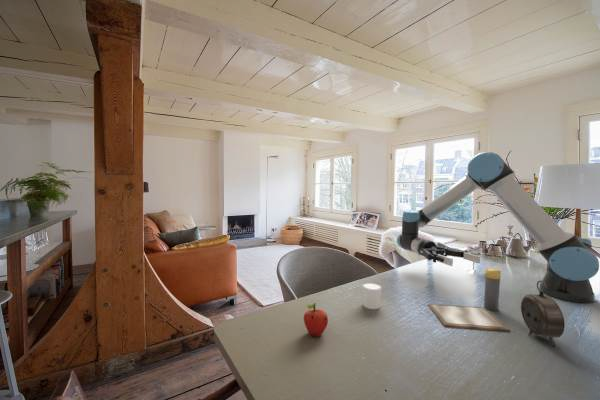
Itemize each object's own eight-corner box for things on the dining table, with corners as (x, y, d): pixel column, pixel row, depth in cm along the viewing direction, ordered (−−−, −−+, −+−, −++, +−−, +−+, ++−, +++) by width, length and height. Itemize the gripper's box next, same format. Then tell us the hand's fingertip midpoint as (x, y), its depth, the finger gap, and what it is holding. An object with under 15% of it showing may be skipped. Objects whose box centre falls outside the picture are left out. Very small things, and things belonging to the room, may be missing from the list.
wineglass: (484, 274, 126) (486, 249, 125) (470, 274, 126) (471, 249, 126) (475, 269, 133) (476, 246, 132) (462, 269, 133) (463, 246, 132)
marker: (494, 306, 93) (496, 268, 92) (501, 311, 89) (503, 272, 88) (481, 305, 93) (483, 267, 92) (487, 310, 89) (489, 271, 88)
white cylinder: (382, 303, 94) (383, 284, 94) (379, 311, 88) (380, 291, 87) (363, 299, 97) (363, 281, 97) (359, 307, 91) (359, 287, 90)
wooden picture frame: (483, 309, 90) (483, 307, 90) (510, 331, 76) (510, 329, 76) (428, 305, 93) (428, 303, 93) (444, 326, 79) (444, 324, 79)
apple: (303, 327, 78) (304, 294, 77) (326, 327, 78) (327, 294, 77) (303, 342, 70) (303, 306, 70) (328, 343, 70) (329, 306, 70)
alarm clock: (564, 350, 68) (569, 289, 67) (540, 347, 69) (544, 287, 68) (536, 328, 78) (539, 274, 78) (515, 326, 80) (518, 273, 79)
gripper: (445, 253, 124) (489, 268, 104) (400, 257, 117) (439, 273, 96) (446, 238, 123) (490, 249, 103) (401, 240, 116) (440, 253, 96)
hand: (466, 261), depth 100 cm, fingers open, 13 cm apart
